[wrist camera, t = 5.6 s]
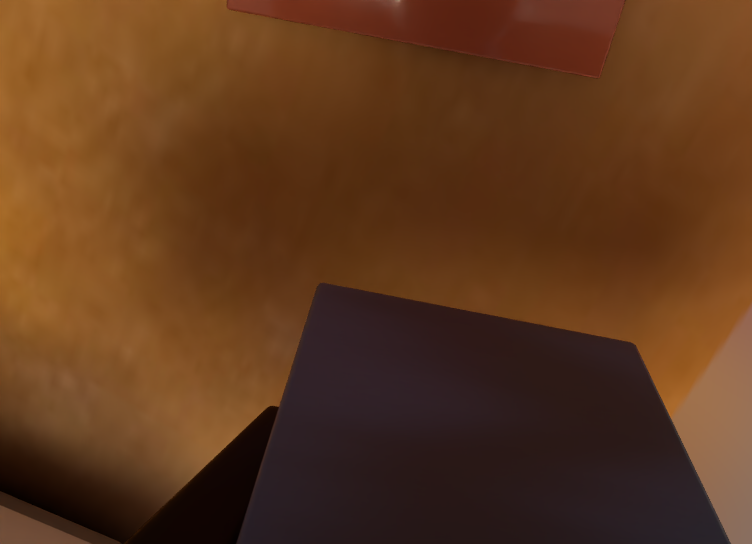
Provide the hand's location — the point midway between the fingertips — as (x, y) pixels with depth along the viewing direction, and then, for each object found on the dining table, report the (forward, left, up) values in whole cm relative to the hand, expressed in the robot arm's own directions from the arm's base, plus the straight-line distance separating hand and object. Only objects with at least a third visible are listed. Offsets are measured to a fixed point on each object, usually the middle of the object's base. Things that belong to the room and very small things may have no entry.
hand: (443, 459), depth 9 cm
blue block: (0, 0, -1) cm, 1 cm away
